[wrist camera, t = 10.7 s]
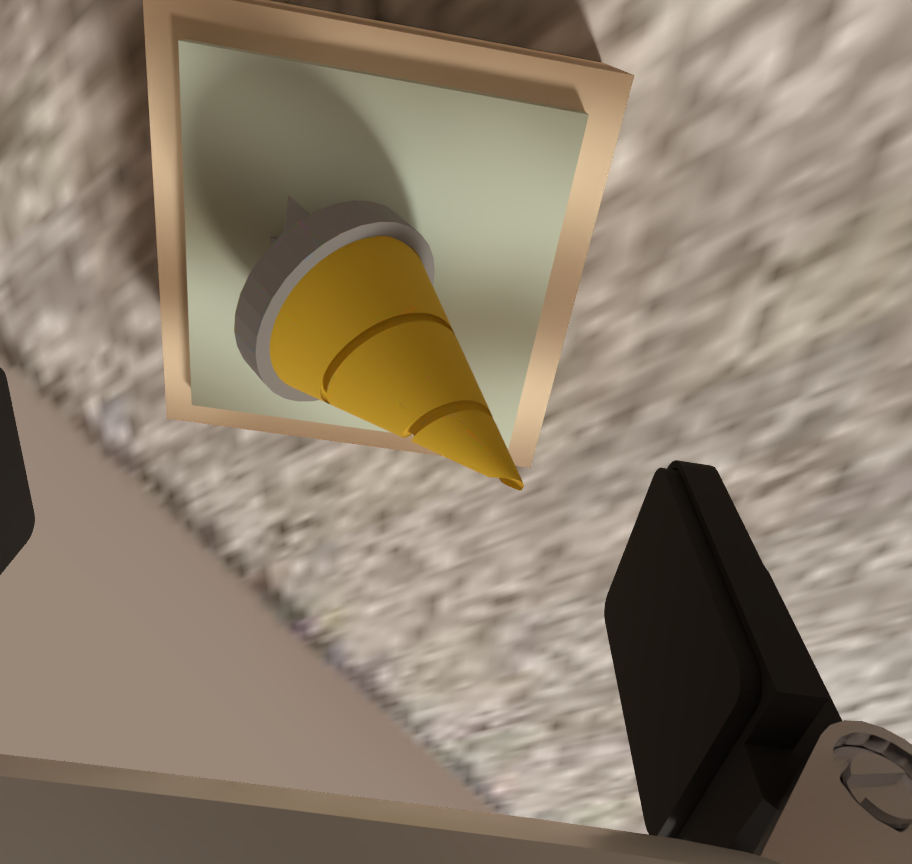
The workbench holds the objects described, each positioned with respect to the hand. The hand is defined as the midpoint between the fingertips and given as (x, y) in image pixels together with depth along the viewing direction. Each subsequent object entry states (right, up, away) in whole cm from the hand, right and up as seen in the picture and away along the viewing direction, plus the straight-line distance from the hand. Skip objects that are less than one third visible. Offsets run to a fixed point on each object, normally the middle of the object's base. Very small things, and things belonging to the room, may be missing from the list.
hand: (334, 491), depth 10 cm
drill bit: (0, +5, +9) cm, 11 cm away
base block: (-1, +8, +14) cm, 16 cm away
